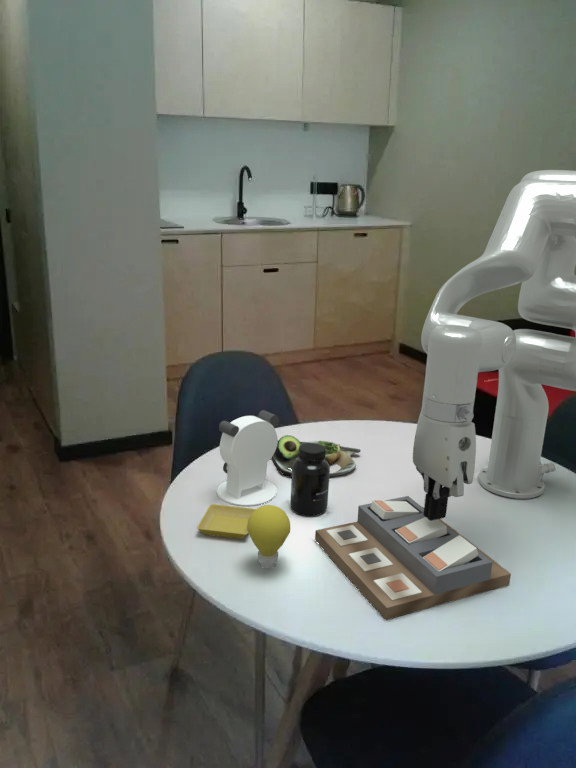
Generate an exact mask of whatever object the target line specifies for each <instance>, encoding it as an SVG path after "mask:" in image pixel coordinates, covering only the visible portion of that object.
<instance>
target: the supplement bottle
mask: <svg viewBox="0 0 576 768" xmlns="http://www.w3.org/2000/svg"><path fill="white" fill-rule="evenodd" d="M325 451H326V449H325V447H324V446H323V445H320V444H317V443H305V444H302V445H300V446H299V453H298V459H296V460H295V461H294V463H293V465H292V478H291V484H290V505H289V506H290V509H291V510H292V511H293V512H295V513H296V514H298V515H301V516H304V515H305V517H316V515H317V516H319V515H322V514H324V513H325V512H326V511H327V509H328V503H329V488H330V487H329V486H330V477H329V476H330V473H331V465H329V464H328V462H327V461H326V460H325V457H326V455H325Z"/></svg>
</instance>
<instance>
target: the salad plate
mask: <svg viewBox="0 0 576 768" xmlns="http://www.w3.org/2000/svg"><path fill="white" fill-rule="evenodd" d="M305 443H317V444H320V445H323V446H324V447H325V449H326V451H325V455H326V457H325V460H326V461H327V462H328V464H329V466H332V465H337V466H339V467H340V468H339V469H338V470H337V471H335V472H330V476H329V478H331V477H332V476H333V477H337V476H342V475H346V474H349V473H350V472H352V471H353V470H354V469H356V467H357V464H356V462H355V460H354V459H353V458H352V457H351V455H354V454H359V453H361V451H362V450H361V449H360V448H355V447H354V448H353V447H347V446H341V444H340V443H336V442H331V441H327V440H314V441H313V440H312V441H300V440H299V439H298V438H297V437H295V436H293V435H288V434H287V435H286V434H285V435H283V436H281V437H280V438H279V439H278V444H277V448H276V450H275V452H274V454H273V456H272V461H273V463H274V465H275V468H276V469H277V470H279V471H280V472H279V471H278V472H279V473H281V474H282V475H284V476H286V477H288V476H289V478H291V477H292V471H291V470H290V469H288V468H291V469H292V465H293V463H294V461H295V460H296V459H298V453H299V446H300V445H302V444H305ZM333 477H332V478H333Z"/></svg>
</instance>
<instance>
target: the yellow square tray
mask: <svg viewBox="0 0 576 768" xmlns="http://www.w3.org/2000/svg"><path fill="white" fill-rule="evenodd" d="M256 509H257V508H250V507H244V506H235V505H223V504H216V503H212V504H210V505H209V506H208V507H207V509H206V511H205V513H204V515H203V516H202V518H201V520H200V521H199V523H198V525H197V527H196V529H197V530H198V531H199V532H200V533H201V534H203V535H205V536H212V537H218V538H219V537H220V538H227V539H237V540H242V539H243V540H244V539H245V537H246V536H247V535H248V532H247V524H248V519H249V517H250V516H251V514H252V513H253V512H254V511H255V510H256Z"/></svg>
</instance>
